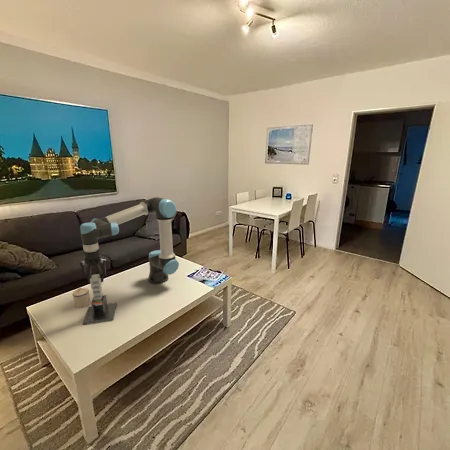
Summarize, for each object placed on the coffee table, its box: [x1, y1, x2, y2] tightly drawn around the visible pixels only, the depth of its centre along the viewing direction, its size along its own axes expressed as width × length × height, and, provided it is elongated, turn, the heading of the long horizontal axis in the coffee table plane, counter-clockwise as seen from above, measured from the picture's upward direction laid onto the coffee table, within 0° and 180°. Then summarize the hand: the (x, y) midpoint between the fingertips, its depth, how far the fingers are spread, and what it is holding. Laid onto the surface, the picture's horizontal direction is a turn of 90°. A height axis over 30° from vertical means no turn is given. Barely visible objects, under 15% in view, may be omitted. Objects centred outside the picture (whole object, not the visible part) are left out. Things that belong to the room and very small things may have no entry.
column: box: [91, 273, 103, 306], centre depth 145 cm, size 5×4×18 cm
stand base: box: [82, 294, 118, 326], centre depth 149 cm, size 16×16×10 cm
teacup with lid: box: [72, 286, 91, 309], centre depth 159 cm, size 12×9×12 cm
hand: (96, 287), depth 145 cm, fingers closed on column, 4 cm apart
